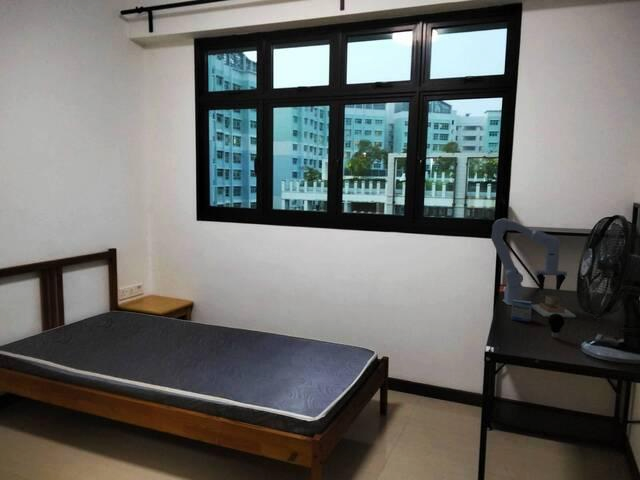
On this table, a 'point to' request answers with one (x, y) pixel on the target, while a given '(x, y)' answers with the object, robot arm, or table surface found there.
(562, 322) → the light bulb
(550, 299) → the oak block
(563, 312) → the holder
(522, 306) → the medicine box
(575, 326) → the table surface
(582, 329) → the table surface
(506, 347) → the table surface
